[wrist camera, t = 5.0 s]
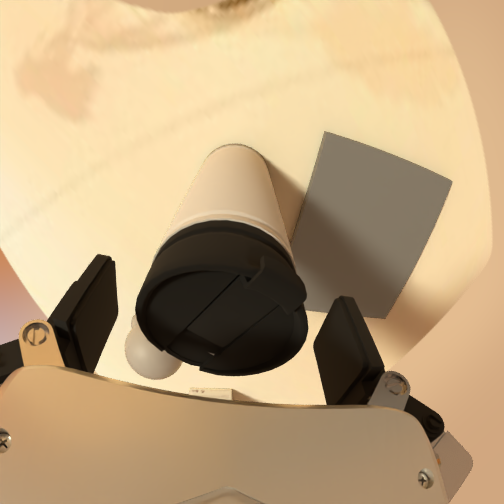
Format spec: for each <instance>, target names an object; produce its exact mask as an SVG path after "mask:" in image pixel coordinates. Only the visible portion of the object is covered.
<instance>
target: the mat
mask: <svg viewBox="0 0 504 504" xmlns="http://www.w3.org/2000/svg"><path fill="white" fill-rule="evenodd" d="M451 184H452V181H451V180H449V179H447V178H445V177H443V176H441V175H439V174H437V173H435V172H433V171H430V170H428V169H426V168H424V167H421V166H419V165H417V164H414V163H412V162H410V161H407V160H405V159H402V158H400V157H398V156H395V155H393V154H390V153H387V152H385V151H382V150H379V149H377V148H374V147H371V146H369V145H366V144H363V143H360V142H357V141H354V140H351V139H348V138H345V137H342V136H339V135H336V134H332V133H329V132H326V131H325V132H324V135H323V139H322V142H321V146H320V149H319V153H318V156H317V159H316V163H315V166H314V170H313V173H312V176H311V180H310V183H309V186H308V190H307V193H306V196H305V199H304V203H303V206H302V209H301V212H300V216H299V219H298V222H297V225H296V228H295V232H294V235H293V238H292V241H291V244H290V247H291V251H292V254H293V259H294V262H295V266H296V271H297V275H298V276H300V278H301V279H302V281H303V283H304V284H305V288H306V292H307V299H306V300H305V302H303V303H304V307H305V310H308V311H316V312H324V313H328V312H329V310H330V308H331V306H332V304H333V302H334V300H335V299H336V298H339V296H349V297H353V298H354V299H355V302H356V304H357V306H358V308H359V310H360V312H361V314H362V316H363V317H371V318H382V319H385V318H386V316H387V315H388V313H389V311H390V310H391V308H392V306H393V305H394V303H395V301H396V300H397V298H398V296H399V294H400V293H401V291H402V289H403V287H404V286H405V284H406V282H407V280H408V278H409V276H410V275H411V273H412V271H413V269H414V267H415V265H416V263H417V261H418V259H419V257H420V255H421V253H422V251H423V249H424V247H425V245H426V243H427V241H428V239H429V237H430V234H431V232H432V230H433V228H434V226H435V223H436V221H437V219H438V216H439V214H440V212H441V209H442V207H443V205H444V202H445V200H446V197H447V195H448V192H449V189H450V187H451Z"/></svg>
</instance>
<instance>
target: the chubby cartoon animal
mask: <svg viewBox="0 0 504 504" xmlns="http://www.w3.org/2000/svg"><path fill="white" fill-rule="evenodd" d="M131 327H132V330H131V331H130V332H129V334H128V336H127V338H126V342H125V355H126V358H127V361H128V363H129V364H130V366H131V367H132V369H133V370H134V371H135V372H137V373H138V374H139V375H141V376H143V377H145V378H148V379H154V380H158V379H164V378H167V377H169V376H171V375H173V374H174V373H175V372H176V371H177V370H178V369H179V368H180V366H181V364H182V362H183V361H181V360H178V359H177V358H175V357H173V356H171V355H170V354H168V353H167V352H166V351H165V350H164V351H162V352H161V351H160V350H159V349H157V348H156V347H155V346H154V345H153V344H151V343H150V342H149V341H148V340H147V339H146V337H145V336H144V334H143V333H142V331H141V329H140V327H139V324H138V322H137V319H136V314H135V315H134V317H133V318H132V323H131Z"/></svg>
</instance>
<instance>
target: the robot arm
mask: <svg viewBox="0 0 504 504" xmlns="http://www.w3.org/2000/svg"><path fill="white" fill-rule="evenodd" d="M117 316H118V300H117V287H116V269H115V261H112V259H111V257H110V256H106V255H101V254H98V255H96V257H95V258H94V259H93V261H92V262H91V263H90V265H89V266H88V267H87V269H86V270H85V271H84V273H83V274H82V275H81V277H80V278H79V279H78V281H75V282H74V283H73V284H72V285H71V286H70V288H69V289H68V291H67V292H66V293H65V295H64V296H63V298H62V299H61V301H60V302H59V304H58V305H57V307H56V308H55V310H54V311H53V313H52V314H51V316H50V317H49V319H48V320H47V322H46V321H44V320H39V319H37V320H32V321H29V322H27V323H26V324H24V325H23V327H22V328H21V330H20V332H19V339H17V340H14V341H11V342H8V343H5V344H2V345H0V504H449V502H450V501H451V499H452V498H453V497H454V495H455V494H456V492H457V491H458V490H459V488H460V487H461V485H462V483H463V482H464V481H465V479H466V477H467V476H468V474H469V473H470V471H471V469H472V466H473V460H472V457H471V456H470V454H469V453H468V452H467V451H466V450H465V449H464V448H463V446H461V444H460V443H459V442H458V441H457V440H456V439H455V438H454V437H453V436H452V435H451V434H450V433H449V432H448V431H447V432H446V433H445V432H444V422H443V420H442V418H441V417H440V415H439V414H438V413H436V412H435V411H433V410H432V409H430V408H429V407H427V406H425V405H424V404H423V403H421V402H419V401H418V400H416V399H415V398H413V397H412V396H410V395H409V394H410V385H409V383H408V381H407V379H406V378H405V377H404V376H403V375H401V374H400V373H397V372H394V371H387V372H385V370H384V367H385V366H384V364H383V361H382V359H381V357H380V354H379V352H378V350H377V347H376V345H375V343H374V341H373V338H372V336H371V334H370V332H369V329H368V327H367V325H366V323H365V321H364V319H363V316H362V314H361V312H360V310H359V308H358V306H357V304H356V302H355V299H354V298H353V297H349V296H339V298H336V299H335V300H334V302H333V304H332V306H331V308H330V310H329V312H328V314H327V316H326V318H325V321H324V323H323V325H322V327H321V329H320V331H319V333H318V335H317V337H316V339H315V341H314V345H313V348H314V353H315V357H316V361H317V365H318V369H319V373H320V378H321V382H322V386H323V390H324V395H325V399H326V404H327V405H292V404H271V403H257V402H245V401H235V400H226V399H217V398H209V397H202V396H195V395H189V394H183V393H177V392H171V391H166V390H161V389H156V388H151V387H146V386H141V385H137V384H133V383H128V382H124V381H120V380H116V379H112V378H108V377H104V376H100V375H96V374H93V373H94V371H95V368H96V366H97V363H98V361H99V358H100V356H101V353H102V351H103V349H104V346H105V344H106V342H107V339H108V337H109V335H110V332H111V330H112V328H113V326H114V324H115V321H116V319H117Z"/></svg>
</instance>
